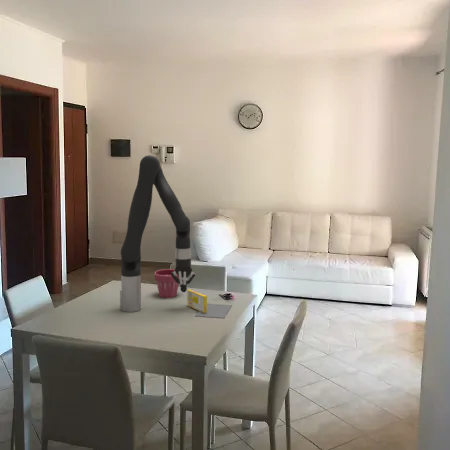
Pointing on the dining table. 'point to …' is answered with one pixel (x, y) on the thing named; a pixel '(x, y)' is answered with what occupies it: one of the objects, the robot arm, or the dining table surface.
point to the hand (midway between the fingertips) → (183, 291)
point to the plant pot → (166, 283)
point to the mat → (215, 311)
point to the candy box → (197, 301)
